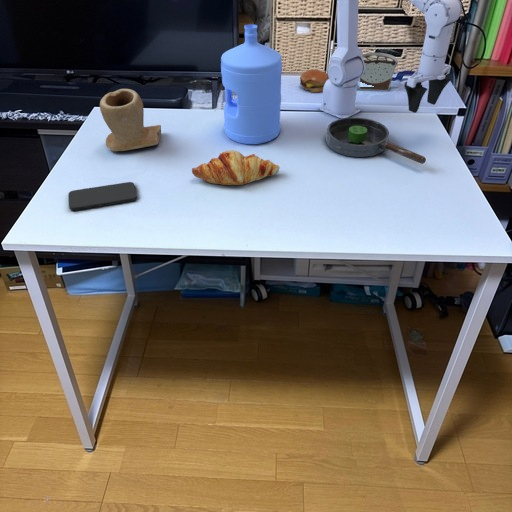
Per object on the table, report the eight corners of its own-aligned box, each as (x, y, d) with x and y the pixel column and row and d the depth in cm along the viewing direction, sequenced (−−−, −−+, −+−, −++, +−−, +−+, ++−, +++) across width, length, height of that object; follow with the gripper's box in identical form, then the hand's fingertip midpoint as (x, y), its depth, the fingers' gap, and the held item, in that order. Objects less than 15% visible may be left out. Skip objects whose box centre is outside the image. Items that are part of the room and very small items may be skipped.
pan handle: (379, 148, 127) (380, 141, 126) (384, 145, 128) (385, 138, 127) (421, 166, 120) (423, 159, 119) (426, 163, 121) (428, 156, 120)
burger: (326, 80, 166) (327, 66, 163) (332, 92, 159) (333, 77, 156) (297, 82, 165) (297, 68, 162) (301, 93, 158) (302, 79, 155)
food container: (391, 83, 163) (396, 52, 157) (393, 91, 159) (398, 59, 152) (353, 82, 164) (357, 51, 158) (354, 89, 160) (358, 58, 153)
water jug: (283, 121, 143) (286, 18, 125) (275, 147, 131) (278, 38, 113) (231, 117, 145) (226, 15, 127) (218, 143, 134) (211, 34, 115)
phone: (137, 197, 113) (68, 208, 110) (137, 200, 113) (69, 211, 110) (133, 181, 118) (68, 190, 115) (134, 184, 119) (69, 193, 115)
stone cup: (107, 160, 127) (94, 104, 117) (106, 138, 136) (94, 85, 126) (166, 152, 130) (158, 98, 120) (161, 132, 139) (154, 79, 129)
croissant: (276, 179, 126) (275, 147, 124) (284, 182, 116) (282, 148, 114) (193, 185, 123) (190, 152, 122) (193, 188, 114) (190, 153, 112)
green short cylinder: (343, 141, 133) (345, 128, 131) (355, 135, 136) (356, 122, 133) (357, 148, 130) (359, 134, 128) (369, 142, 133) (371, 128, 130)
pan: (313, 142, 134) (314, 130, 131) (351, 123, 142) (353, 112, 140) (361, 164, 125) (363, 152, 122) (399, 143, 133) (401, 131, 131)
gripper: (429, 65, 113) (416, 120, 121) (466, 51, 119) (452, 104, 128) (404, 56, 117) (394, 110, 126) (441, 43, 123) (429, 96, 132)
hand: (422, 107), depth 127 cm, fingers open, 7 cm apart
